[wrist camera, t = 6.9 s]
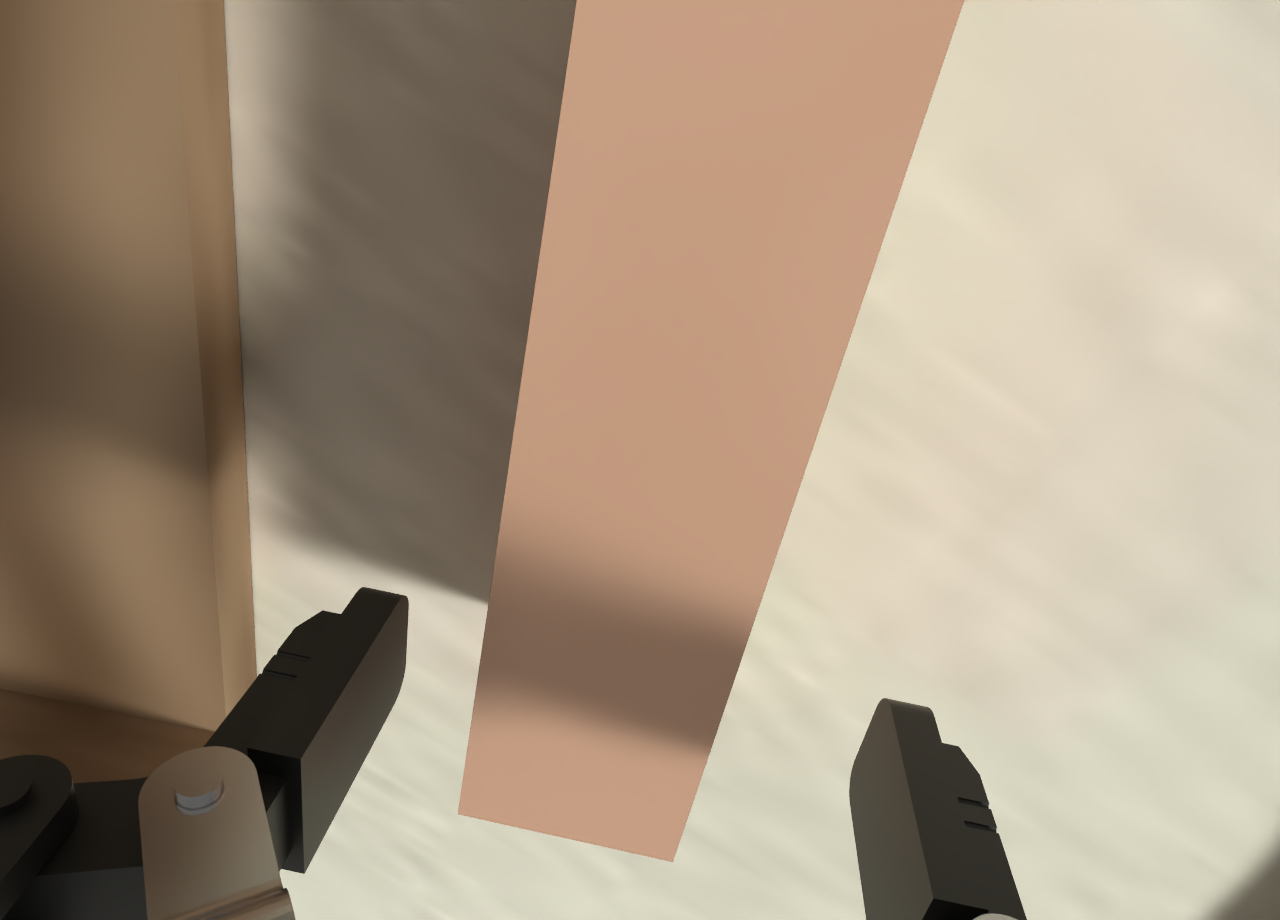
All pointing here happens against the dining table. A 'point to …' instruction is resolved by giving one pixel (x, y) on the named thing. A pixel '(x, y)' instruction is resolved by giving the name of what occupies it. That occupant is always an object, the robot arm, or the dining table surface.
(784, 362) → the salmon pink rectangular block
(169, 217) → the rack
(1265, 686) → the dining table surface
